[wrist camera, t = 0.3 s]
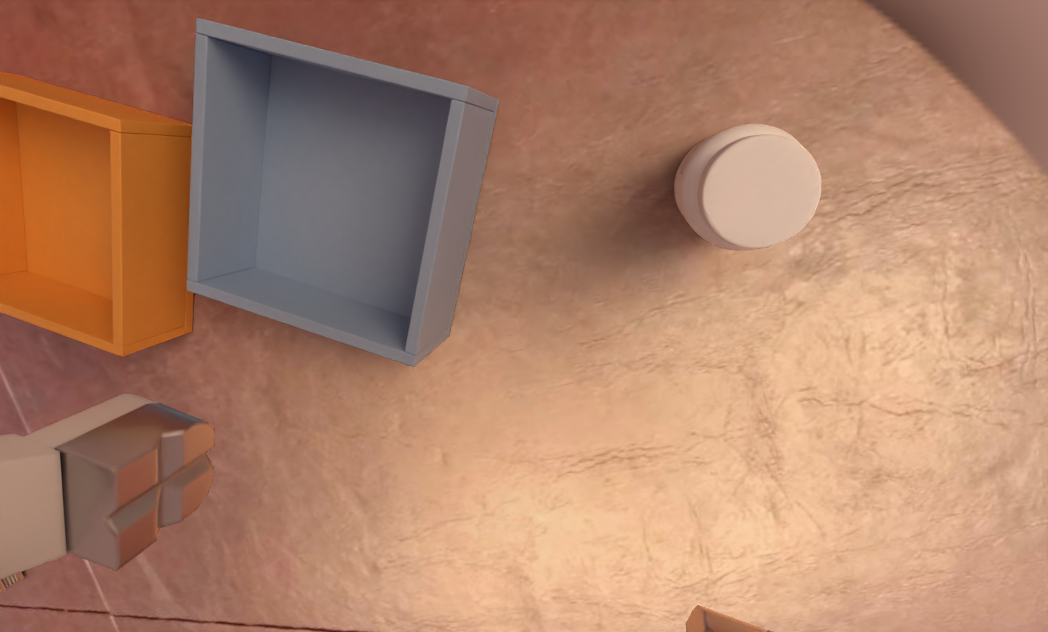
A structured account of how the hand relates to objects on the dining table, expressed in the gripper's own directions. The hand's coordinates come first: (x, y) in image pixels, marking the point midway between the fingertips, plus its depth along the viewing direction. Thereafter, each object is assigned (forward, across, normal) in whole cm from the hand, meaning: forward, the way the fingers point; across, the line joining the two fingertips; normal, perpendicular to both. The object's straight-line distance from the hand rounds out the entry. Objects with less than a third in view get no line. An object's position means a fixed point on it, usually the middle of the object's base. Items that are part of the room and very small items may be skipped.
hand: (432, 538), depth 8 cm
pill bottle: (+19, -5, -6) cm, 21 cm away
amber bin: (+19, +28, +4) cm, 34 cm away
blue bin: (+19, +12, -1) cm, 22 cm away
